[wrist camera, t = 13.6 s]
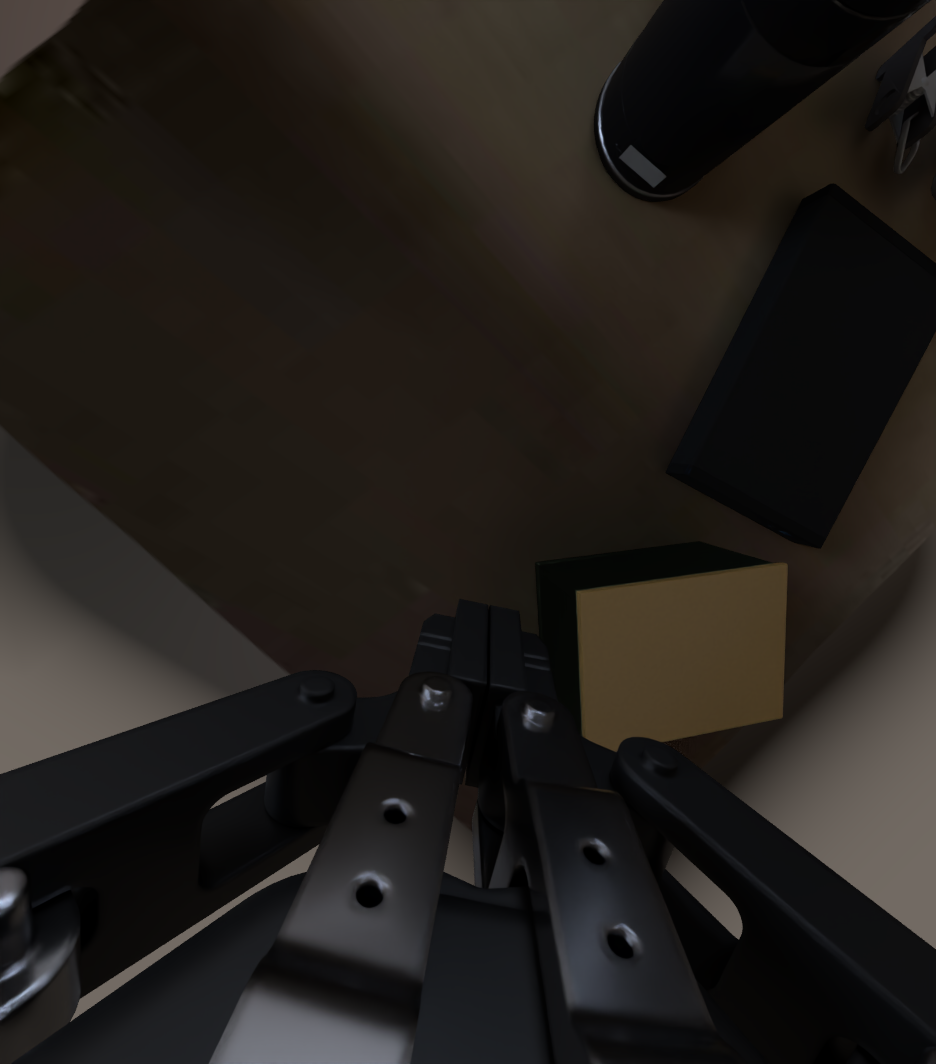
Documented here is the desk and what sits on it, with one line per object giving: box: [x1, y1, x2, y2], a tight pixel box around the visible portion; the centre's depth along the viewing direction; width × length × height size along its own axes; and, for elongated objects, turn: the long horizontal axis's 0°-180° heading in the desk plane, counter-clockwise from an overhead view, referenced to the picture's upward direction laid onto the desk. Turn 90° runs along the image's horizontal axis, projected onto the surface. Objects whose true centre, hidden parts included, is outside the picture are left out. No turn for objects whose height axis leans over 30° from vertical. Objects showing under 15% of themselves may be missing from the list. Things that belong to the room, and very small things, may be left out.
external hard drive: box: [666, 184, 936, 549], centre depth 42 cm, size 14×23×3 cm, turn 154°
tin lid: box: [577, 562, 788, 752], centre depth 36 cm, size 15×11×1 cm
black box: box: [535, 541, 773, 737], centre depth 40 cm, size 14×11×8 cm
